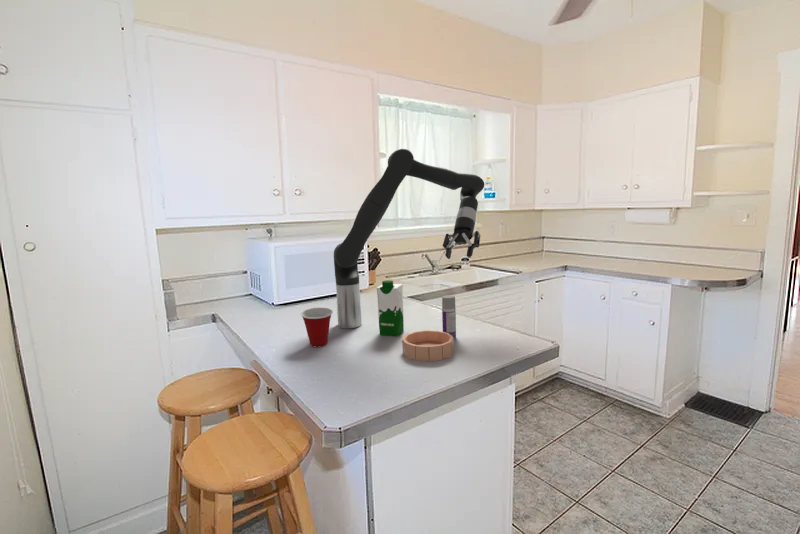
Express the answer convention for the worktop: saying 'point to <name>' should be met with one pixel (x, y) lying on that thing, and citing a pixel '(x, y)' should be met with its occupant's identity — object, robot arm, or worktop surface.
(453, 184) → the robot arm
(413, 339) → the bowl
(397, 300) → the milk carton
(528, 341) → the worktop surface
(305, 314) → the plastic cup
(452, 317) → the container
